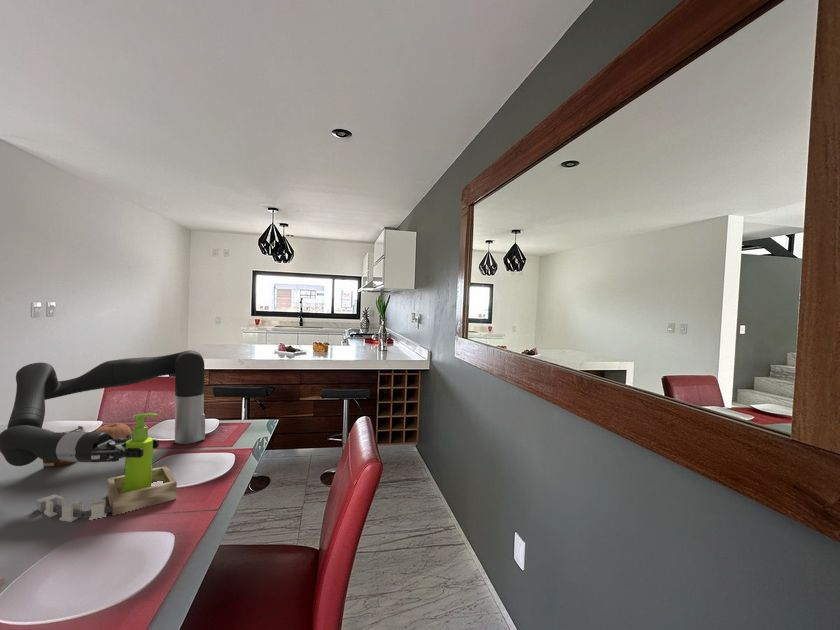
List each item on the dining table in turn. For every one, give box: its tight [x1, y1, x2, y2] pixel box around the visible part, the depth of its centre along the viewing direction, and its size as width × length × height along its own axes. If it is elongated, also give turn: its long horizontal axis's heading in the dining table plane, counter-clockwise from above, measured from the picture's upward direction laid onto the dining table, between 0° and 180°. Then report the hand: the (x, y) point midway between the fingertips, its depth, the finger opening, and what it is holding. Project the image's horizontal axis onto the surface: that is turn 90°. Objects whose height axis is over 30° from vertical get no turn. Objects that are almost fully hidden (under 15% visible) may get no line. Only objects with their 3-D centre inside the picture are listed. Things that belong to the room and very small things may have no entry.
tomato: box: [94, 422, 132, 439], centre depth 141 cm, size 11×11×8 cm
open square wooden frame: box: [107, 465, 178, 516], centre depth 106 cm, size 13×13×4 cm
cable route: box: [36, 493, 112, 523], centre depth 97 cm, size 6×19×3 cm, turn 79°
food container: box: [42, 425, 86, 469], centre depth 126 cm, size 12×6×10 cm, turn 168°
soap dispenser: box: [124, 412, 160, 493], centre depth 106 cm, size 6×7×20 cm
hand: (150, 448), depth 106 cm, fingers closed on soap dispenser, 6 cm apart
